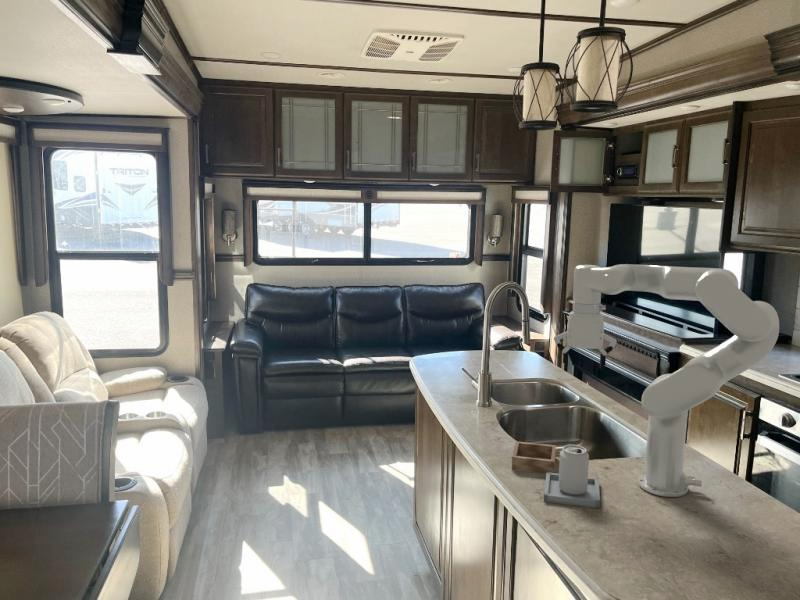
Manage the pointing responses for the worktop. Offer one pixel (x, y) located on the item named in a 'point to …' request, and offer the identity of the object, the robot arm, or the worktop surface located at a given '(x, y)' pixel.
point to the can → (573, 470)
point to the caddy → (534, 463)
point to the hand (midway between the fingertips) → (583, 366)
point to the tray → (558, 496)
